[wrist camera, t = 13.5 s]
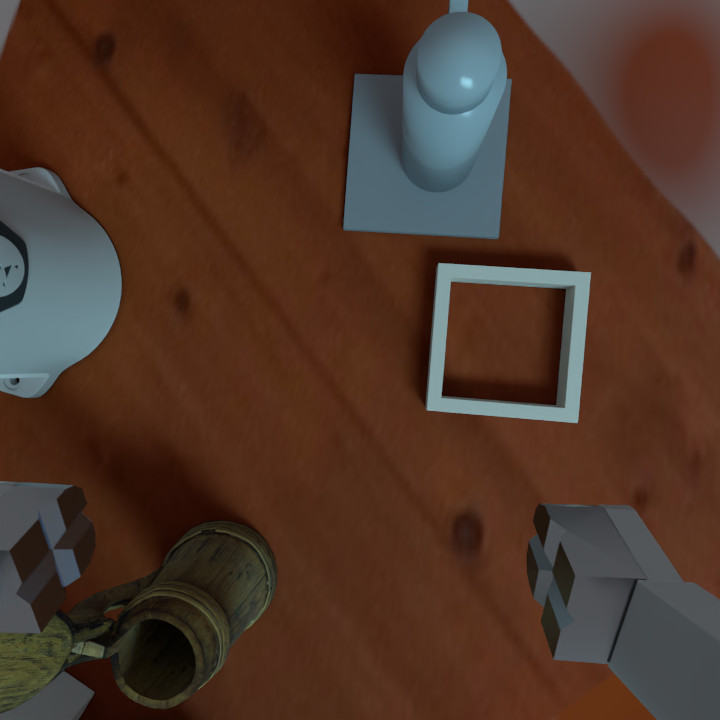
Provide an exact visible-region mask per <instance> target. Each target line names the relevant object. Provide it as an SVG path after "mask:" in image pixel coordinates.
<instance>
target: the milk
mask: <svg viewBox="0 0 720 720" xmlns="http://www.w3.org/2000/svg"><path fill="white" fill-rule="evenodd" d="M94 693H95V692H94V691H93V690H91V689H90V688H88V687H87V686H85V685H84V684H82V683H81V682H79V681H78V680H77V679H75V678H74V677H72V676H71V675H69V674H68V673H66V672H65V671H63V672H62V673H61V674H60V675H59V676H57V677H56V678H55V679H54V680H53V681H52V682H51V683H49V684H48V685H47V686H46V687H45V688H43V689H42V690H41V691H40V692H39V693H37V694H36V695H35V696H34V697H32V698H31V699H29V700H28V701H26V702H24V703H23V704H21V705H20V706H18V707H16V708H14V709H12V710H9V711H7V712H4V713H2V714H0V720H79V718H80V717H81V715H82V713H83V712H84V710H85V708H86V707H87V705H88V703H89V702H90V700H91V699H92V697H93V695H94Z"/></svg>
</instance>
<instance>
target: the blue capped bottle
mask: <svg viewBox="0 0 720 720" xmlns="http://www.w3.org/2000/svg"><path fill="white" fill-rule="evenodd" d="M467 8H468V0H449V7H448V14H446V15H444V16H442V17H440V18H438V19H437V20H435V21H434V22H433V23H432V24H431V25H430V26H429V27H428V28H427V29H426V31H425V32H424V34H423V36H422V38H421V39H420V40H419V41H418V42H417V43H416V44H415V46H414V47H413V48H412V50H411V52H410V53H409V55H408V58H407V60H406V63H405V67H404V73H403V114H402V165H403V169H404V171H405V173H406V175H407V177H408V178H409V180H410V181H411V182H412V183H413V184H414V185H416V186H417V187H419V188H421V189H423V190H425V191H429V192H445V191H449V190H451V189H454V188H455V187H457V186H459V185H460V184H461V183H462V182H463V181H464V180H465V179H466V178H467V177H468V175H469V174H470V172H471V170H472V168H473V165H474V163H475V160H476V158H477V155H478V153H479V151H480V148H481V146H482V143H483V141H484V138H485V136H486V133H487V131H488V129H489V126H490V124H491V121H492V119H493V116H494V114H495V111H496V109H497V107H498V104H499V102H500V99H501V97H502V94H503V92H504V89H505V85H506V79H507V68H506V62H505V58H504V55H503V53H502V49H501V42H500V39H499V36H498V34H497V32H496V30H495V29H494V27H493V26H492V25H491V24H490V23H489V22H488V21H487V20H486V19H484V18H483V17H481V16H479V15H477V14H474V13H470V12H467Z"/></svg>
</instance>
